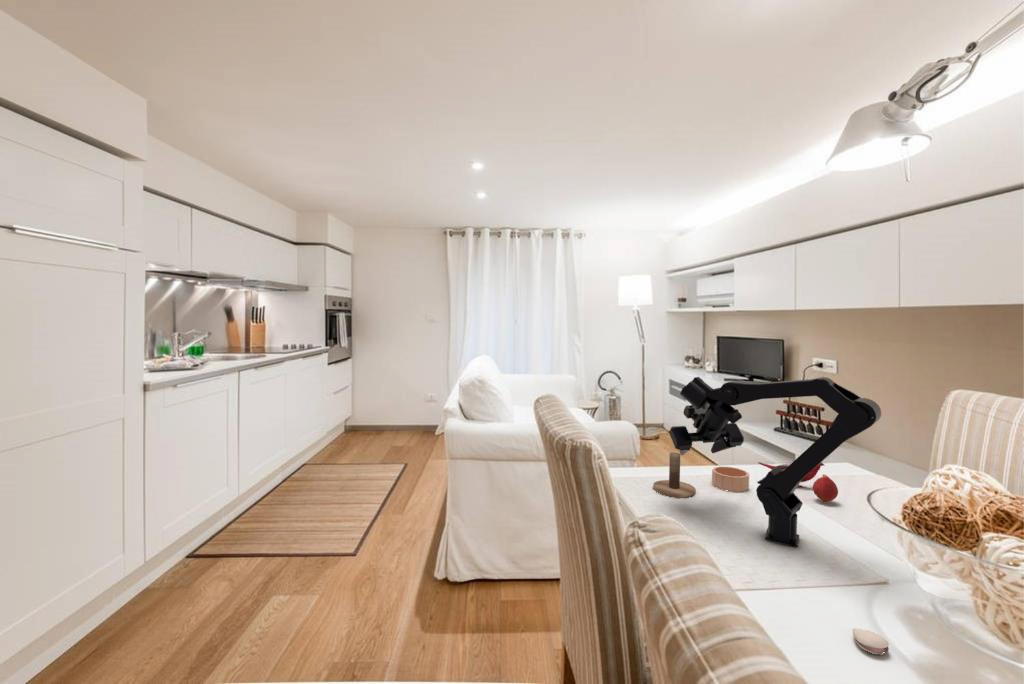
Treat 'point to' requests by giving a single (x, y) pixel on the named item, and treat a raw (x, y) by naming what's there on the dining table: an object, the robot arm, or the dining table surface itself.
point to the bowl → (730, 479)
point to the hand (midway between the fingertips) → (696, 452)
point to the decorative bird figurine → (806, 478)
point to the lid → (674, 481)
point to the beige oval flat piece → (871, 641)
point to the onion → (825, 489)
